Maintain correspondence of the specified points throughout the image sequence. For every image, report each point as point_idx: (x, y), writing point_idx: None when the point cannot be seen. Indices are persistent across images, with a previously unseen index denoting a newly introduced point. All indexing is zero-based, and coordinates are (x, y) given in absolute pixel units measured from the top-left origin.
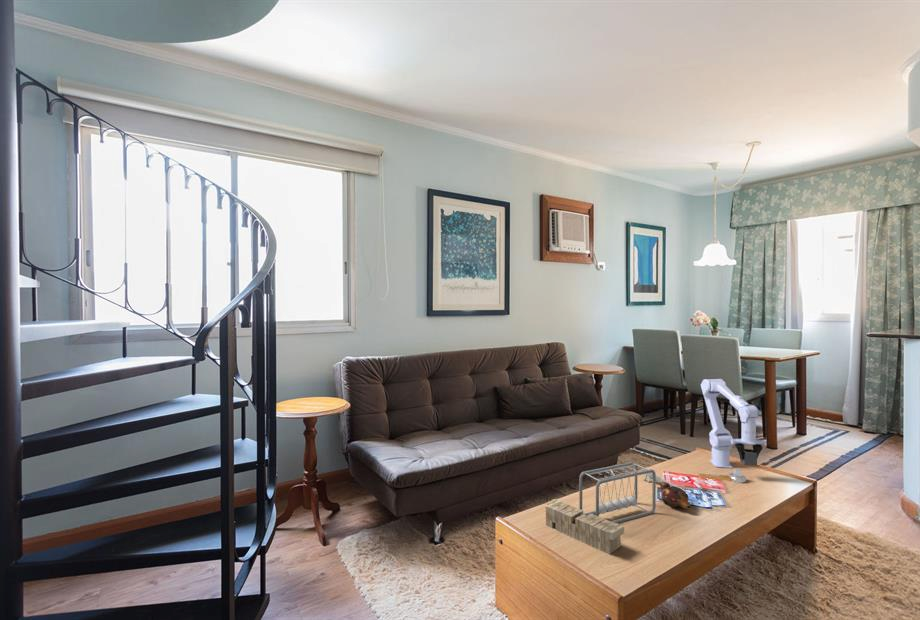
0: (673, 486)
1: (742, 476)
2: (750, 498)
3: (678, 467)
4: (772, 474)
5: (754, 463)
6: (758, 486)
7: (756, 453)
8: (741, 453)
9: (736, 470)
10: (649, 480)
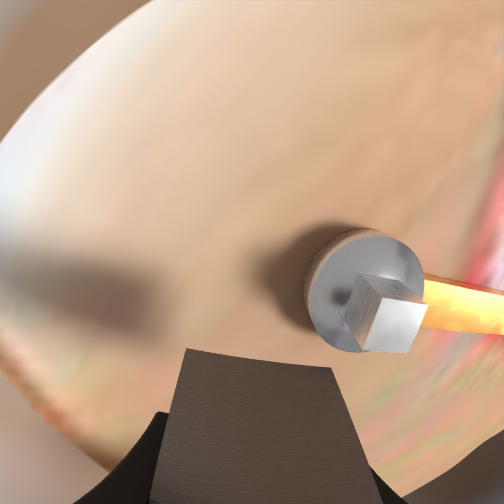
0: None
1: (333, 295)
2: (444, 2)
3: (490, 416)
4: (51, 366)
5: (217, 368)
6: (274, 156)
7: (165, 489)
8: (387, 489)
9: (420, 304)
10: None
